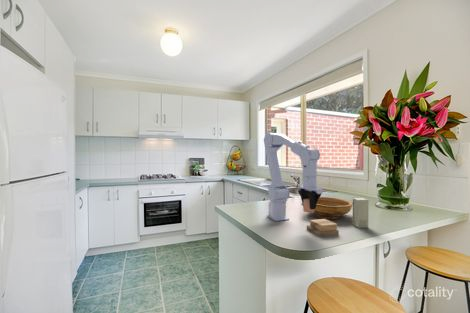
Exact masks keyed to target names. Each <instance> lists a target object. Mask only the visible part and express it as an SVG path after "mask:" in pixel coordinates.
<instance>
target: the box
mask: <svg viewBox="0 0 470 313" xmlns="http://www.w3.org/2000/svg"><path fill="white" fill-rule="evenodd" d="M352 203H353V205H352V225H353V226H354V227H356V228H357V229H358V228H359V229H360V228H361V229H363V228H364V229H366V228H367V229H368V228H369V199H366V198H364V197H354V198H353V197H352Z"/></svg>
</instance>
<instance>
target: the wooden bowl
mask: <svg viewBox="0 0 470 313" xmlns="http://www.w3.org/2000/svg"><path fill="white" fill-rule="evenodd" d="M301 206H302V207H303V204H302V203H301ZM352 209H353V201H350V200H347V199H343V198H338V197H332V196H331V197H330V196H320V197H319V199H318V202H317V205H316V208H315V209H314V212H313V213H314V214H315V215H316V216H317V217H319V218H321V219H327V220H329V219H330V220H331V219H334V220H335V219H338V218H339V217H340V216H344V215H347V214H348V213H349V212H350V211H351V210H352Z"/></svg>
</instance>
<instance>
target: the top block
mask: <svg viewBox="0 0 470 313" xmlns="http://www.w3.org/2000/svg"><path fill="white" fill-rule="evenodd" d="M309 225H310V226H312V227H313V228H315V229H317V230H319V231H321V232H323V231H333V230H338V224H337V223H336V222H334V221H331V220H329V219H327V218H319V219H317V218H316V219H310V220H309Z"/></svg>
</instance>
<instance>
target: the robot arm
mask: <svg viewBox="0 0 470 313" xmlns="http://www.w3.org/2000/svg"><path fill="white" fill-rule="evenodd" d="M263 144H264V148H265V154H266V159H267V160H266V161H267V164H268V170H269V176H270V180H271V183H270V184H269V185H268V187H267V188H268V194H267V196H268V199H269V202H268V214H266V216H267V217H268V218H270V219H272V220H273V221H275V222H277V221H279V222H280V221H286V220H287V221H288V220H290V217H289V218H288V217H287V202H288V199H289V198H290V189H288V185H287V184H286V183H285V182H284V181H283V178H282V173H281V168H280V165H279V158H278V154H277V153H278V151H279V150H281V149H282V147H283V146H286V147H287V148H290V152H292V153H293V154H294V155H296V156H298V157H299V159H300V160H301V161H300V162H301V165H302V184H301V183H298V184H297V189H298V190H297V192H298V194H299V196H300V200H301V205H302V204H303V199H306V198H308V199H309V202H310V209H315V208H316V205H317V202H318V199H319V197H322V194H323V192H324V191H323V188H320V187H318V186H317V175H318V174H317V168H318V165H317V164H318V161H319V159H320V158H321V154H320V150H318V149H317V148H315V147H313V148H311V147H310V145H306V144H304V143H303V141H302V140H296V141H294V140H292V139H291V138H290V137H288V136H287V135H286V134H284V133H276V132H275V133H274V132H266V134H265V135H264V138H263Z"/></svg>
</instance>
